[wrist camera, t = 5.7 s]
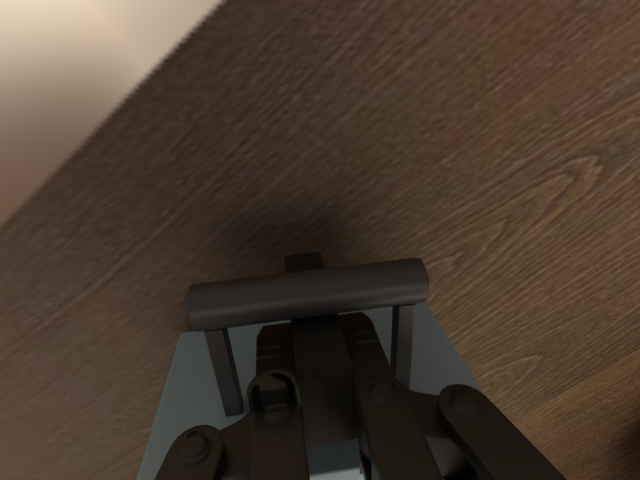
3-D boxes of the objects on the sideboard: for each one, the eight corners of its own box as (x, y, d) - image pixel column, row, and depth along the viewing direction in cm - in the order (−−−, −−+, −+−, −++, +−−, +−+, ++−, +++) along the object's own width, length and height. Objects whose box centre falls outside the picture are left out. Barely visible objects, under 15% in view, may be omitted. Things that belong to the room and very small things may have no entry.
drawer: (149, 229, 15) (55, 374, 8) (433, 199, 16) (555, 305, 9) (229, 500, 23) (216, 677, 17) (409, 469, 24) (463, 623, 18)
